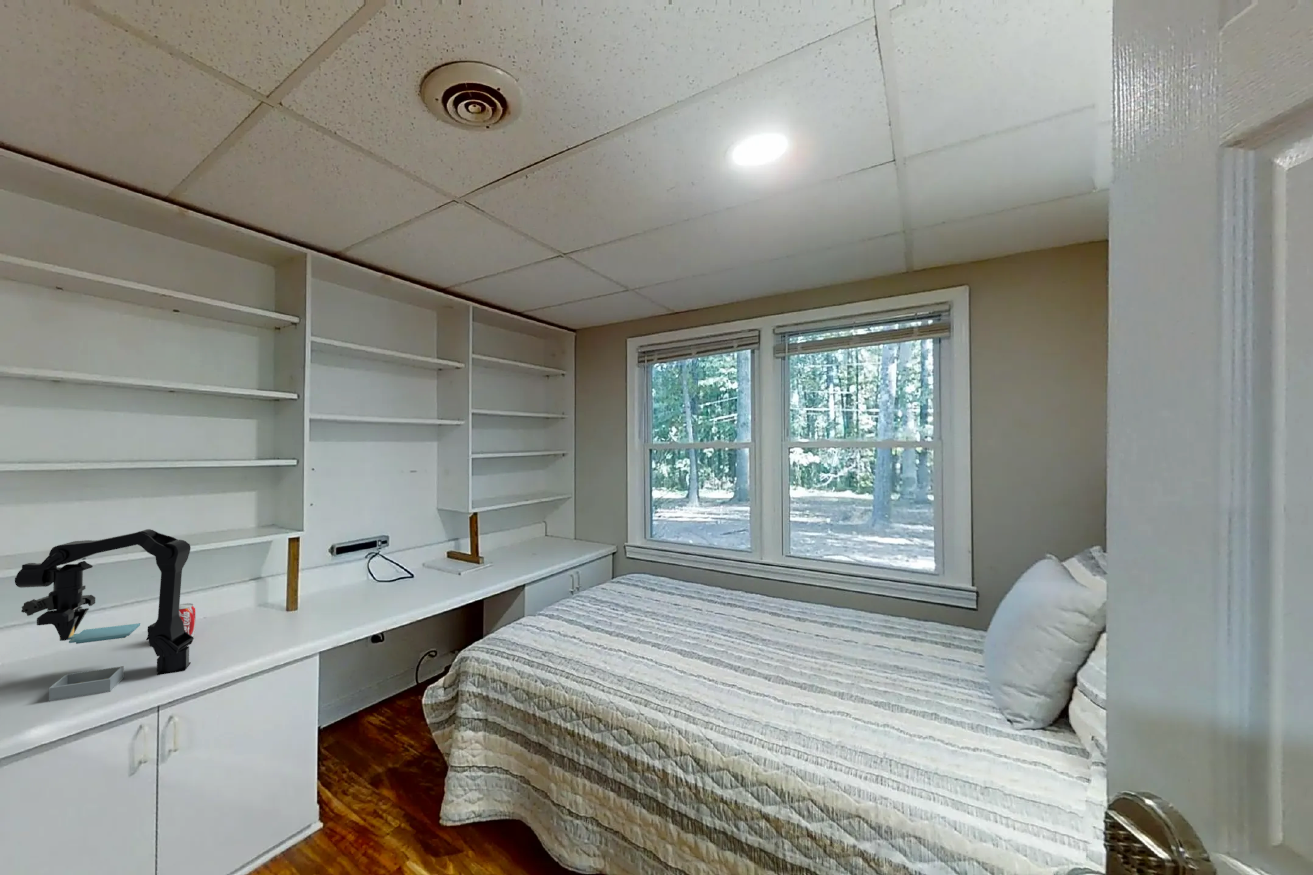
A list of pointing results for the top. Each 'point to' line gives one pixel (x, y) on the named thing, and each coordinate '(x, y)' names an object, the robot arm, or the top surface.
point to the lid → (102, 633)
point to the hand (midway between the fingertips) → (67, 638)
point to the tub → (86, 683)
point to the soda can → (188, 617)
